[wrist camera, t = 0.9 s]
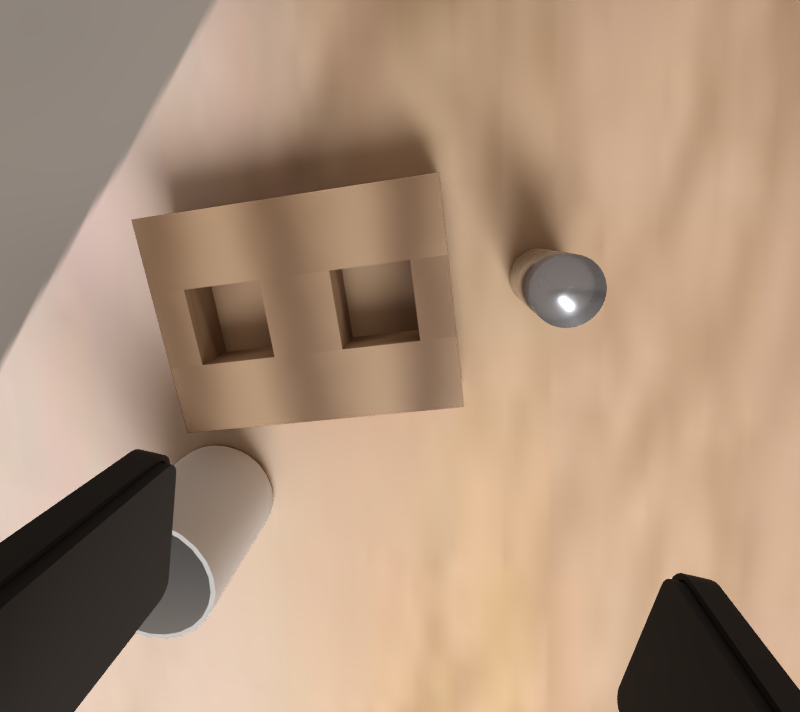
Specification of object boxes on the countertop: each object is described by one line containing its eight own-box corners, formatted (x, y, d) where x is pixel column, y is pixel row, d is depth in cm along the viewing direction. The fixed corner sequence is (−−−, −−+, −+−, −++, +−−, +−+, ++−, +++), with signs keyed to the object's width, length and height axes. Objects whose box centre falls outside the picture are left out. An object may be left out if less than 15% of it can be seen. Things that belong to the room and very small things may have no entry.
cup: (295, 483, 32) (241, 575, 24) (222, 577, 35) (149, 690, 26) (207, 421, 32) (119, 493, 23) (139, 521, 34) (37, 619, 26)
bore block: (439, 180, 26) (438, 172, 22) (461, 383, 29) (464, 406, 25) (173, 221, 28) (131, 219, 24) (219, 407, 31) (187, 432, 27)
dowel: (564, 244, 27) (605, 249, 20) (567, 300, 27) (607, 323, 21) (507, 252, 27) (528, 259, 20) (511, 307, 28) (533, 331, 21)
